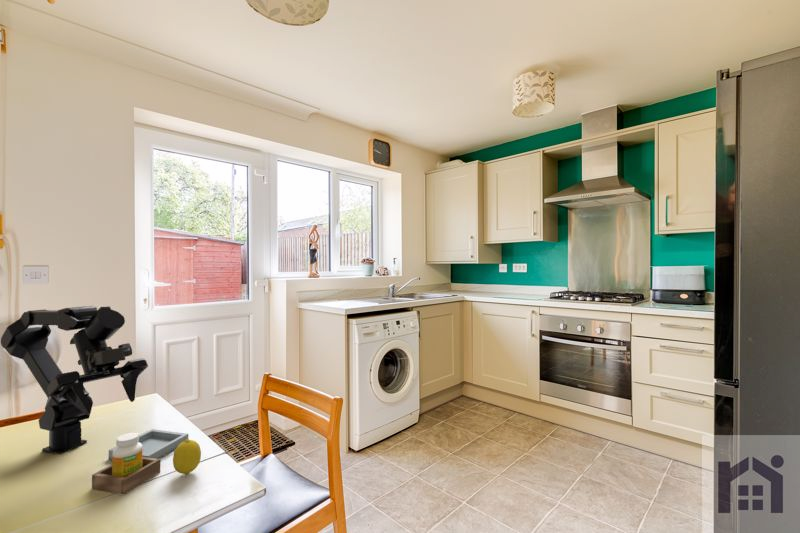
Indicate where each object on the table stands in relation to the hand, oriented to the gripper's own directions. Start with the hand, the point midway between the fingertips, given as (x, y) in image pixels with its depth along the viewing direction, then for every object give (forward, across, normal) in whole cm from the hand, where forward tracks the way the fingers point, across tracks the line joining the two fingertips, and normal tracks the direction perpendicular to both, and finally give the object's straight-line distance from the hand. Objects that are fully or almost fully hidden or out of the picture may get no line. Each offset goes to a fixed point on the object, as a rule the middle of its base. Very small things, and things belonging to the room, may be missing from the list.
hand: (111, 407), depth 87 cm
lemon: (+23, +5, -8) cm, 25 cm away
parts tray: (+12, +8, +7) cm, 16 cm away
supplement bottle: (+18, -2, 0) cm, 18 cm away
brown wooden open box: (+17, -2, -1) cm, 18 cm away
